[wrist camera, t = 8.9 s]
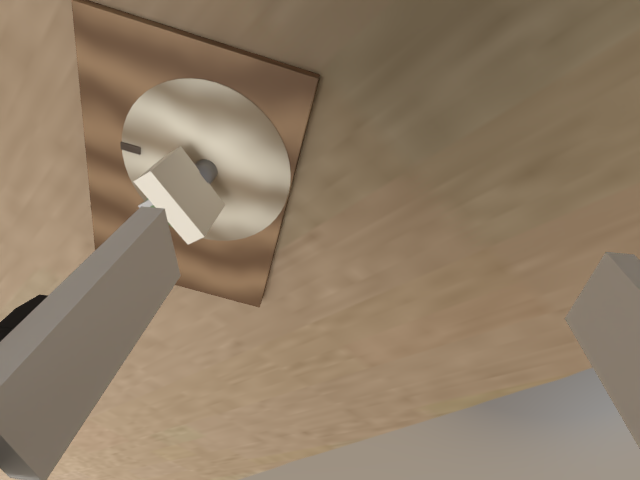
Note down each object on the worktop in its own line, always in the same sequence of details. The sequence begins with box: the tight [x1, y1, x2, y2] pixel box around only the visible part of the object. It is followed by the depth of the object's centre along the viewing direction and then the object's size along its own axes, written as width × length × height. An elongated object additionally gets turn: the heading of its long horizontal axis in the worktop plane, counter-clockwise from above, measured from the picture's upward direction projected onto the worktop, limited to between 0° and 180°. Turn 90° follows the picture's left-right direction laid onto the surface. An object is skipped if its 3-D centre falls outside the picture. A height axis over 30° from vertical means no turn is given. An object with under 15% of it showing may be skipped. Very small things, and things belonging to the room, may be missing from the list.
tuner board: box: [72, 0, 320, 307], centre depth 41 cm, size 30×22×2 cm
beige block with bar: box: [133, 146, 225, 244], centre depth 36 cm, size 7×11×9 cm, turn 119°
